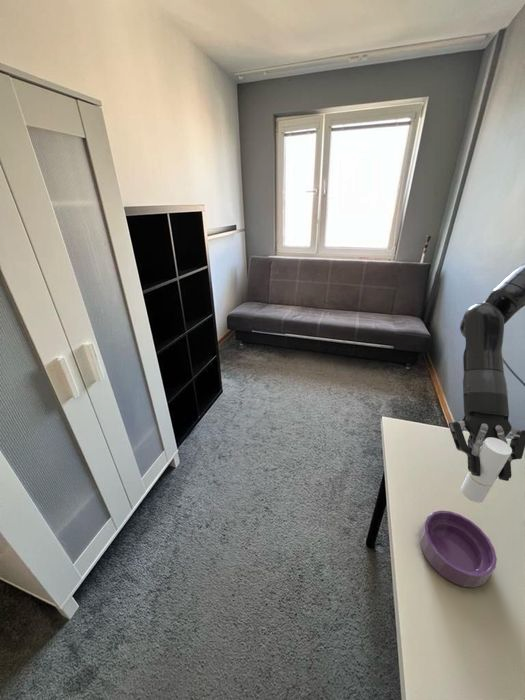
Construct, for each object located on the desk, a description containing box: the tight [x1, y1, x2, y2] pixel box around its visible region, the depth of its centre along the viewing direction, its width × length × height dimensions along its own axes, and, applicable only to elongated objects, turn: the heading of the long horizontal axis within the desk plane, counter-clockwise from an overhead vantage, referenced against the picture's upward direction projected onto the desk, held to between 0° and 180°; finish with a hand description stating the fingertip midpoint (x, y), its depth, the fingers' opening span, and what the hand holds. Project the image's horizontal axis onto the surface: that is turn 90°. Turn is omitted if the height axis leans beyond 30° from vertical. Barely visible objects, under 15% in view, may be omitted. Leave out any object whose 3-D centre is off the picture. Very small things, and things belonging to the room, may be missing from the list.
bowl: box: [419, 509, 498, 589], centre depth 62 cm, size 13×13×6 cm
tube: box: [460, 437, 512, 504], centre depth 58 cm, size 4×4×15 cm
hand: (489, 477), depth 56 cm, fingers closed on tube, 4 cm apart
